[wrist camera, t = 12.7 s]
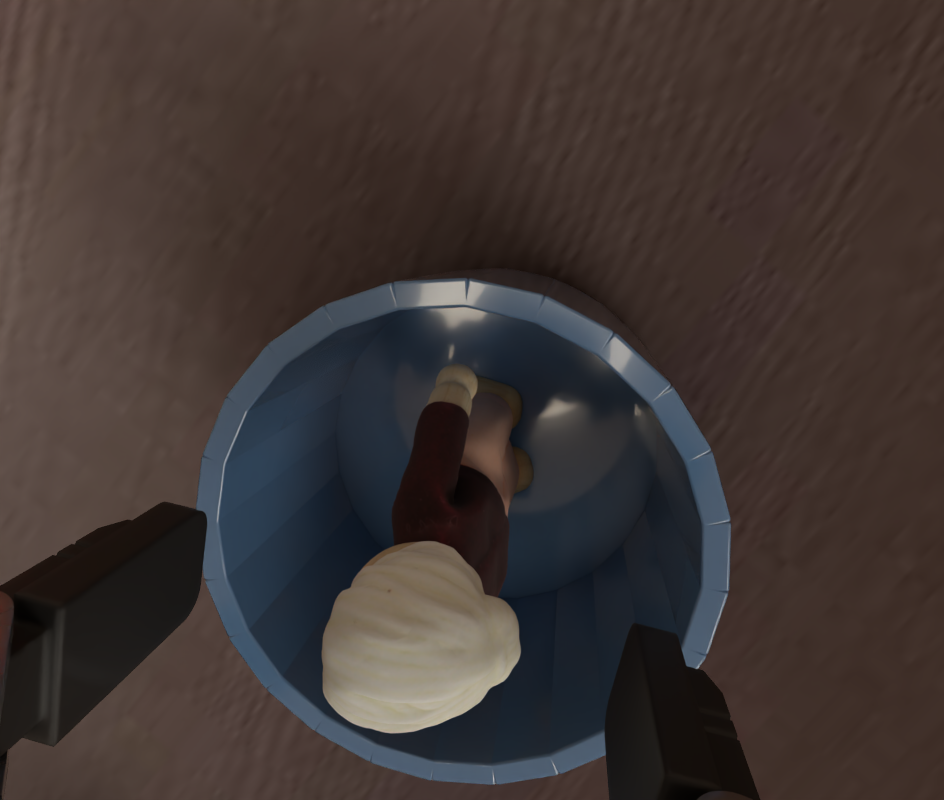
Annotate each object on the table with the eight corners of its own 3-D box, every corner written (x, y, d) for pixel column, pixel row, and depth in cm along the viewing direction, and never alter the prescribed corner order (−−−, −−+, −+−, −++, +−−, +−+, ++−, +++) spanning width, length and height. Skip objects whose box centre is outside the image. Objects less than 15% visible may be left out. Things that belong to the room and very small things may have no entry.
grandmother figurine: (398, 362, 22) (181, 500, 10) (507, 327, 21) (418, 430, 9) (470, 568, 23) (357, 916, 11) (576, 542, 23) (578, 887, 10)
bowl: (304, 555, 25) (173, 704, 17) (355, 234, 22) (226, 224, 14) (619, 640, 24) (644, 845, 16) (718, 313, 21) (810, 353, 13)
